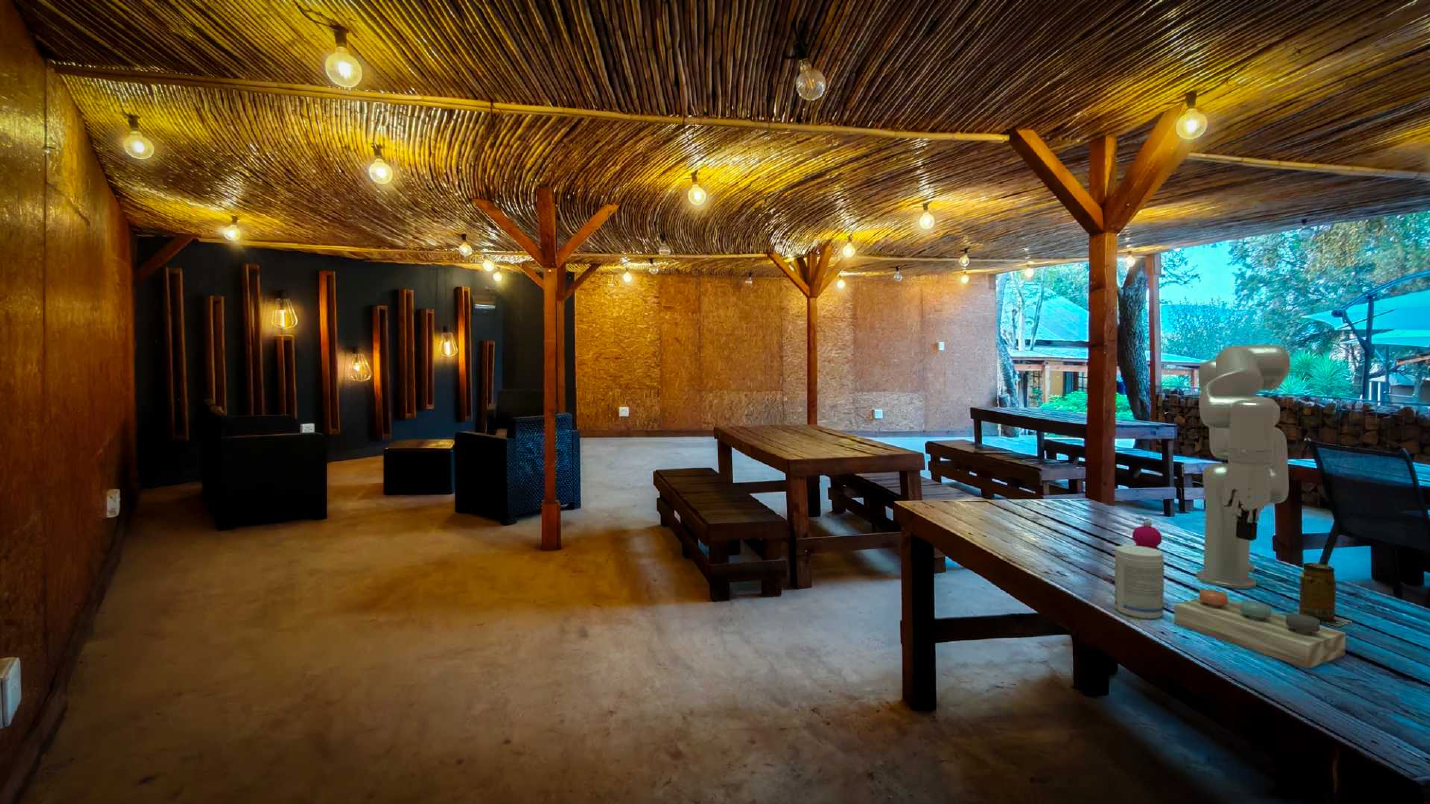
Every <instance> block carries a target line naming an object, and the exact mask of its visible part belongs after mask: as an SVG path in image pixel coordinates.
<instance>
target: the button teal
mask: <svg viewBox="0 0 1430 804" xmlns="http://www.w3.org/2000/svg"><path fill="white" fill-rule="evenodd" d="M1240 603H1241V606H1240V611H1241V612H1242V613H1244V614H1247V615H1250V619H1253V620H1257V621H1261V618H1269V617H1271V612H1272V607H1271V605H1269V604H1266V603H1263V602H1260V601H1254V600H1242V601H1240Z"/></svg>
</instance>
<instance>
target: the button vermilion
mask: <svg viewBox="0 0 1430 804" xmlns="http://www.w3.org/2000/svg"><path fill="white" fill-rule="evenodd" d="M1198 595H1199V597H1198V598H1199V599H1200V600H1201V601H1203V602H1205V603H1208V606H1209V607H1213V608H1216V609H1217V608H1218V605H1227V604H1228V600H1229V596H1228V594H1227V593H1225V592H1223V591H1220V590H1215V589H1210V588H1209V589H1204V588H1202V589H1200V590H1199V594H1198Z"/></svg>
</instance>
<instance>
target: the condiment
mask: <svg viewBox="0 0 1430 804" xmlns="http://www.w3.org/2000/svg"><path fill="white" fill-rule="evenodd" d="M1302 572H1303V573H1302V574H1301V575H1300V578H1299V579H1300V581H1299V583H1300V584H1299V585H1300V586H1299V587H1300V588H1299V601H1298V603H1299V605H1298V607H1299V608H1298V610H1299V611H1296V612H1294V613H1296V614H1303V615H1308V616H1311V617H1314V618H1317V619H1318V620H1320V623H1323V624H1326V625H1332V626H1335V627H1341V625H1342V626H1344V625H1347V624H1348V623H1347V622H1350V623H1353V620H1349V619H1345V618H1343V617H1337V616H1336V598H1337V597H1336V595H1337V580H1336V579H1335V577H1336V575H1335V572H1336V571H1335V568H1334V566H1332V565H1327V564H1324V563H1319V562H1304V564H1303V569H1302ZM1335 619H1340V620H1335ZM1327 622H1328V623H1327ZM1336 622H1337V623H1336ZM1338 622H1343V624H1342V623H1338ZM1345 622H1346V623H1345Z"/></svg>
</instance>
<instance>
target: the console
mask: <svg viewBox="0 0 1430 804" xmlns="http://www.w3.org/2000/svg"><path fill="white" fill-rule="evenodd" d="M1240 606H1241V602H1237V601H1234V600H1230V599H1228V604H1227V605H1218V608H1217V609H1216V608H1213V607H1209V606H1208V603H1205V602H1203V601H1201V600H1200V599H1199V597H1198V598H1194V599H1191V600H1187V601H1183V602H1179V603H1175V604H1174V610H1173V611H1174V614H1173V616H1174V617H1173V618H1174V619H1173V625H1175V626H1178V627H1181V628H1183V629H1186V630H1187V629H1188V630H1190V631H1194V632H1197V633H1199V634H1202V635H1205V636H1209V637H1210V638H1214V639H1217V640H1221V641H1223V642H1225V643H1226V642H1227V643H1230V644H1232V645H1235V646H1238V647H1242V648H1244V649H1247V650H1251V651H1252V652H1256V653H1259V654H1263V655H1265V656H1268V657H1271V658H1274V659H1277V660H1280V661H1283V662H1286V663H1289V664H1292V665H1295V666H1297V667H1301V668H1304V669H1307V670H1308V669H1311V668H1314V667H1316V666H1319V665H1322V664H1324V663H1327V662H1330V661H1333V660H1336V659H1338V658H1341V657H1343V656H1345V655H1346V634H1347V633H1346V632H1344V631H1340V630H1337V629H1333V628H1331V627H1326V626H1323V625H1320V630H1319V631H1318V632H1308V636H1307V635H1304V634H1300V633H1297V632H1296V629H1294V628H1291V627H1289V626H1287V625H1286V615H1285V614H1279V613H1277V612H1273V611H1271V617H1269V618H1261V621H1257V620H1253V619H1250V615H1247V614H1244V613H1242V612H1241V611H1240Z"/></svg>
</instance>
